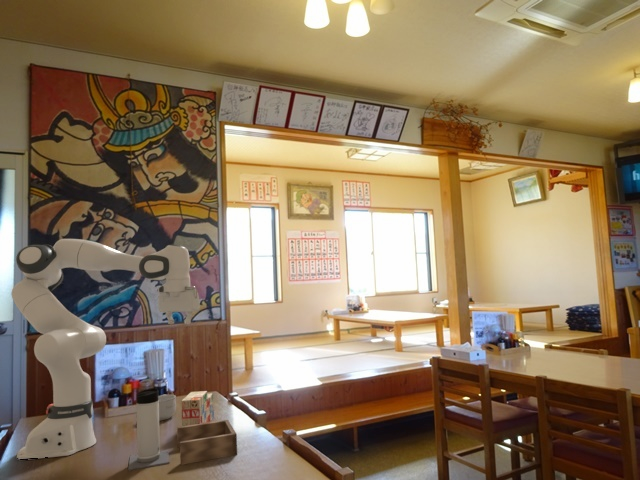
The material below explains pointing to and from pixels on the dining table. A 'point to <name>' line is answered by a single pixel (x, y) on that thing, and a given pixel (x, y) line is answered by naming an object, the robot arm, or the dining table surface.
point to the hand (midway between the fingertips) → (179, 324)
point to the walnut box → (206, 441)
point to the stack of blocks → (197, 408)
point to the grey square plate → (160, 461)
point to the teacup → (166, 406)
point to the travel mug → (148, 426)
